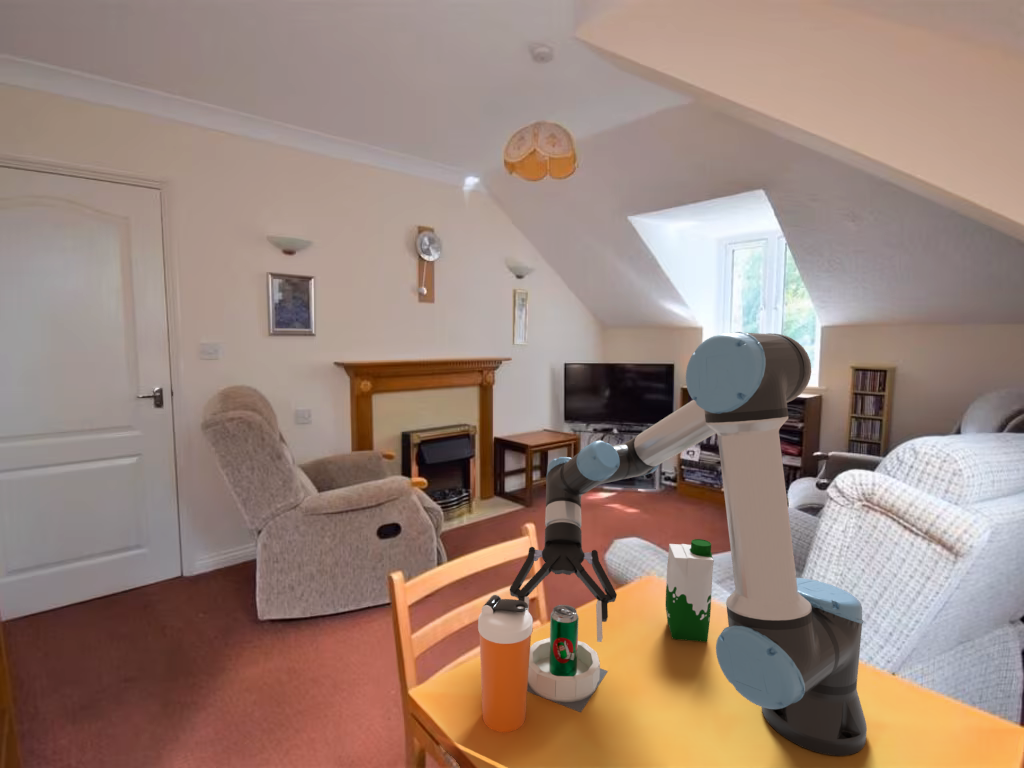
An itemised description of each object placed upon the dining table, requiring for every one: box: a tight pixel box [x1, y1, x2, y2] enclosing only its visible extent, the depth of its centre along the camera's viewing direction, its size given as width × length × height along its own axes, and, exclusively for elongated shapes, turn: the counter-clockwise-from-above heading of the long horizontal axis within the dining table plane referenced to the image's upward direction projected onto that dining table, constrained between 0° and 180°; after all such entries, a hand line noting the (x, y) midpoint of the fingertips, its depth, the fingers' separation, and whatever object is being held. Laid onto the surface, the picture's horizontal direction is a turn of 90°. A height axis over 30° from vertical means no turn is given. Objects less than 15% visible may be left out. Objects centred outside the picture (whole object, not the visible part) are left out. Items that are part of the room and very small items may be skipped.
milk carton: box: [665, 538, 715, 643], centre depth 115 cm, size 9×9×20 cm
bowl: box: [528, 637, 601, 702], centre depth 99 cm, size 13×13×4 cm
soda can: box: [549, 604, 579, 676], centre depth 99 cm, size 5×5×12 cm
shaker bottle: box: [477, 594, 534, 733], centre depth 88 cm, size 9×9×20 cm
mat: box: [527, 667, 609, 713], centre depth 99 cm, size 13×13×1 cm
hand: (562, 637), depth 99 cm, fingers open, 13 cm apart
